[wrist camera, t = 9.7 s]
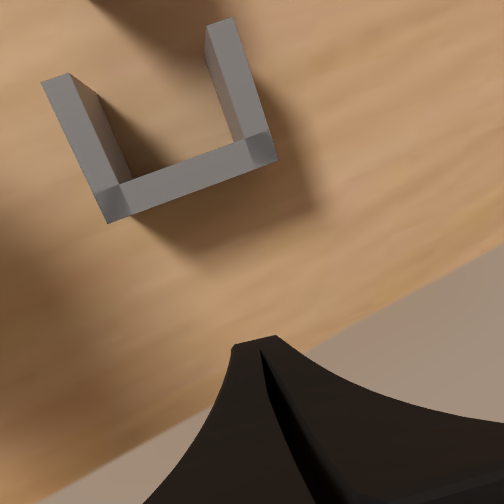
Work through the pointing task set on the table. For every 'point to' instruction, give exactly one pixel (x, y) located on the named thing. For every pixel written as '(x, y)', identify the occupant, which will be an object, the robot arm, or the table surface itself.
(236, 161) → the gray u-shaped clamp
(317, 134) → the table surface
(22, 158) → the table surface
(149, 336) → the table surface
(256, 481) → the robot arm
